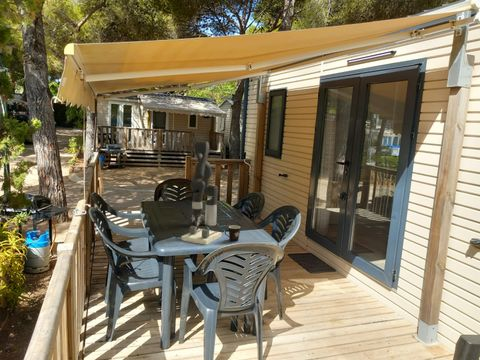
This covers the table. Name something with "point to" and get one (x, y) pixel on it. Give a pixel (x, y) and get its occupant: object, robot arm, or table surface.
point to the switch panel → (199, 239)
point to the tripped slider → (193, 229)
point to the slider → (205, 233)
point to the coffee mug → (233, 233)
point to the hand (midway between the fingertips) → (196, 230)
